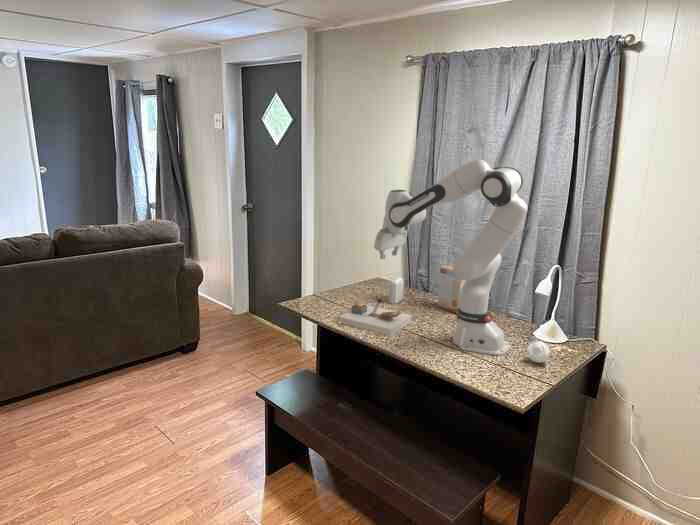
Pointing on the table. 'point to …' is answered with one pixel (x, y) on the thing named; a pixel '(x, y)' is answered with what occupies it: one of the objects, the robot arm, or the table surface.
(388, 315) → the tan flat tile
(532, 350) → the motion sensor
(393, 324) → the switch panel
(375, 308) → the toggle lever
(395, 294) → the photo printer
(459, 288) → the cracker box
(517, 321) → the table surface
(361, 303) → the push button
